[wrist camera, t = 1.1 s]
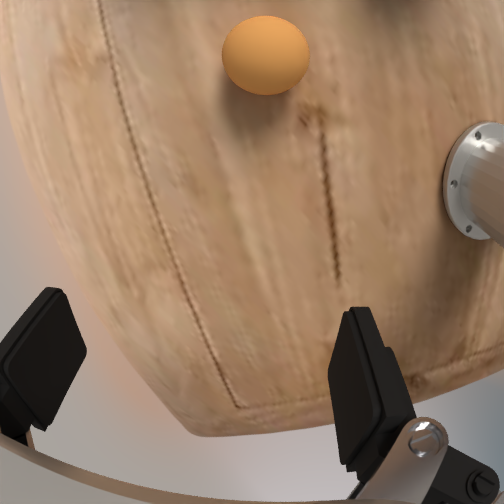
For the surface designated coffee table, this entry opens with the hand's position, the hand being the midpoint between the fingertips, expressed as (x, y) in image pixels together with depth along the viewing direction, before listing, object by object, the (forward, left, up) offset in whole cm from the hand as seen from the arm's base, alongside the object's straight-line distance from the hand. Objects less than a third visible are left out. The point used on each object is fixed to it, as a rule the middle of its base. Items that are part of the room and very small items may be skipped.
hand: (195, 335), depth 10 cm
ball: (-4, -10, -15) cm, 18 cm away
